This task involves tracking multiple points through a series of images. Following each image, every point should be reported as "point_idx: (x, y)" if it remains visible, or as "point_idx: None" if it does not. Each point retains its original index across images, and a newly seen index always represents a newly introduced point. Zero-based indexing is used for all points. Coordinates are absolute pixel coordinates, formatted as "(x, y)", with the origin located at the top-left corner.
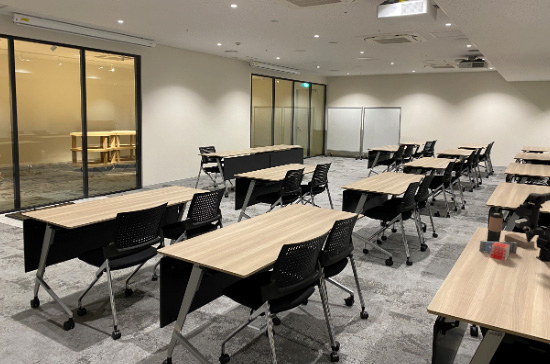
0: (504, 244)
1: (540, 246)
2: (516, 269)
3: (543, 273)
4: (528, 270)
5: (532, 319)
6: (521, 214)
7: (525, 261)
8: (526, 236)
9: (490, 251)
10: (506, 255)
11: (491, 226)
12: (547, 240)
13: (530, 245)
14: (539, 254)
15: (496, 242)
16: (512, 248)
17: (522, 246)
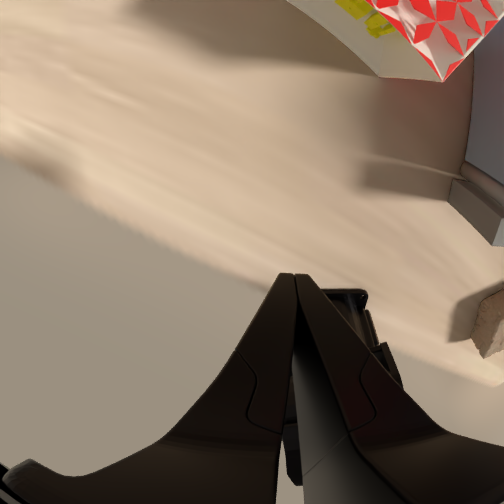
0: (446, 18)
1: (381, 364)
2: (97, 27)
3: (74, 185)
4: (94, 105)
5: None
6: None
7: (289, 171)
8: (345, 338)
9: None
10: (382, 58)
11: None
12: (284, 442)
13: (480, 331)
14: (362, 318)
15: (499, 3)
16: (480, 194)
17: (496, 296)
